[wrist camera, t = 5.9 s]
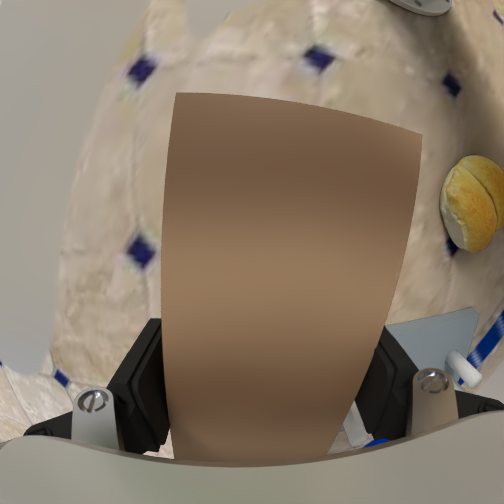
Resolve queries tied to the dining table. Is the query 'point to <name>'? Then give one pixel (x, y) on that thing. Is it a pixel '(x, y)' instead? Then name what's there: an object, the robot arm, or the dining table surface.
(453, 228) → the bread roll
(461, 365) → the peg stand
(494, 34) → the dining table surface
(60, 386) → the dining table surface
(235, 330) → the brown wooden block
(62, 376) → the dining table surface
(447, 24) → the dining table surface
